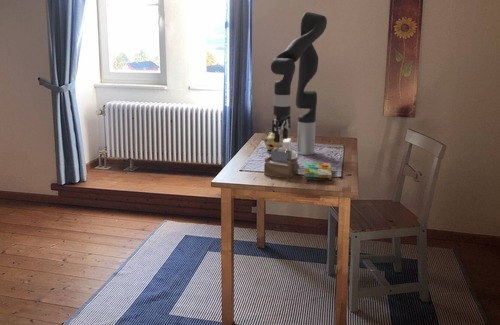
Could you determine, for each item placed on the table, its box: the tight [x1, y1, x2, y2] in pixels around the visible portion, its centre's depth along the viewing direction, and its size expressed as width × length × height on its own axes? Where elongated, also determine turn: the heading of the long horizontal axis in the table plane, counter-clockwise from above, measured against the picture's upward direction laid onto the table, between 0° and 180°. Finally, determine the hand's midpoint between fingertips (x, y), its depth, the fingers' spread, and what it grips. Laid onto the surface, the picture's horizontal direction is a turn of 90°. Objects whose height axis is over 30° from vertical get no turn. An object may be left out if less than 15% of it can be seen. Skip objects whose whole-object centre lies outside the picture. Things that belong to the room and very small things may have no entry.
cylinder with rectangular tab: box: [282, 137, 297, 159], centre depth 235 cm, size 9×9×12 cm
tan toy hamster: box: [264, 131, 284, 151], centre depth 262 cm, size 10×12×11 cm
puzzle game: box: [303, 161, 333, 181], centre depth 216 cm, size 12×5×20 cm
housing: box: [270, 148, 293, 163], centre depth 217 cm, size 8×4×6 cm, turn 62°
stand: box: [263, 155, 299, 179], centre depth 218 cm, size 10×12×8 cm
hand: (281, 140), depth 216 cm, fingers open, 8 cm apart
